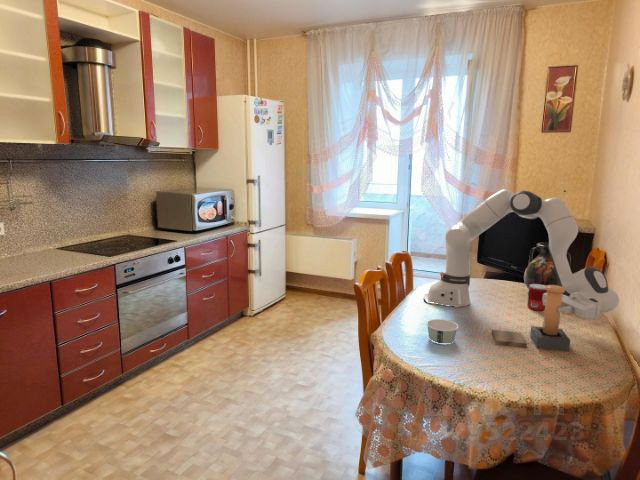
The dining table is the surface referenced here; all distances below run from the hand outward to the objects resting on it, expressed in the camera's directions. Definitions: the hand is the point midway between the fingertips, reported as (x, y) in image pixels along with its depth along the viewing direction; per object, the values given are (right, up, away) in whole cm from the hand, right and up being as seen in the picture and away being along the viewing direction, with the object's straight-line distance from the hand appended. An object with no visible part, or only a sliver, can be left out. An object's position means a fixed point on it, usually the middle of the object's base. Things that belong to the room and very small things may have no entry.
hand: (551, 306), depth 164 cm
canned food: (+16, -8, +43) cm, 46 cm away
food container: (-40, -14, +6) cm, 43 cm away
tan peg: (+1, -10, +2) cm, 11 cm away
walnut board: (-13, -14, +6) cm, 20 cm away
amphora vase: (+28, -5, +58) cm, 65 cm away
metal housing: (+1, -15, +3) cm, 15 cm away
